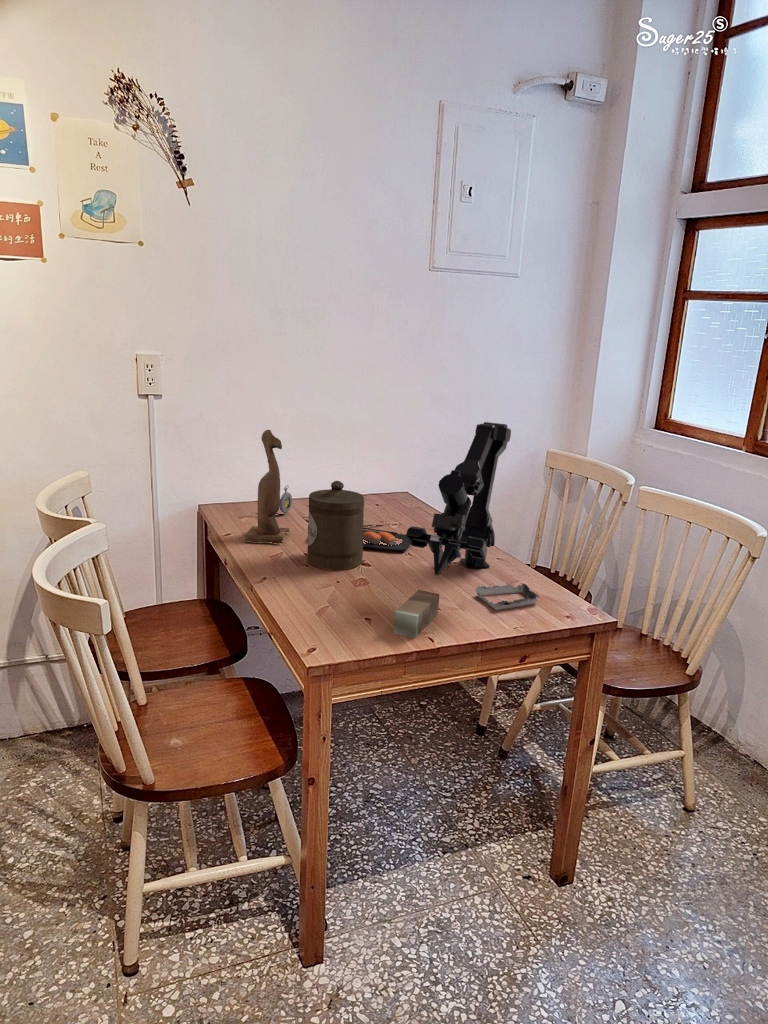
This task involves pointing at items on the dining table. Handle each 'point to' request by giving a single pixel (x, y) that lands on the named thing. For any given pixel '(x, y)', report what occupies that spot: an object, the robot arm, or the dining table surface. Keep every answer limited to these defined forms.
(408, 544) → the sushi plate
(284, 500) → the pocket watch
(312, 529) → the wooden container
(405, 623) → the grey-green metal block
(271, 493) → the bird sculpture
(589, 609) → the dining table surface
